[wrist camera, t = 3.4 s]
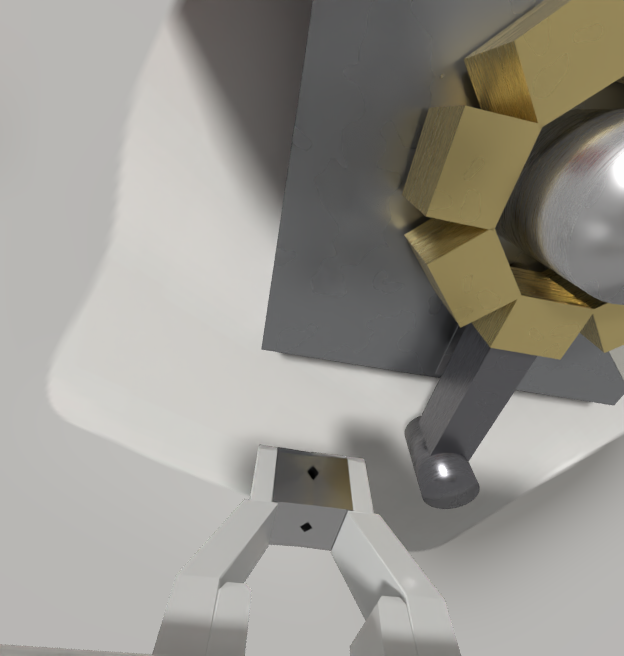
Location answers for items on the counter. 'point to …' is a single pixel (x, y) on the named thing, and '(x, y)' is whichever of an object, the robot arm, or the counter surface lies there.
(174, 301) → the counter surface
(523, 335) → the geared lever handle
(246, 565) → the robot arm
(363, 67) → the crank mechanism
